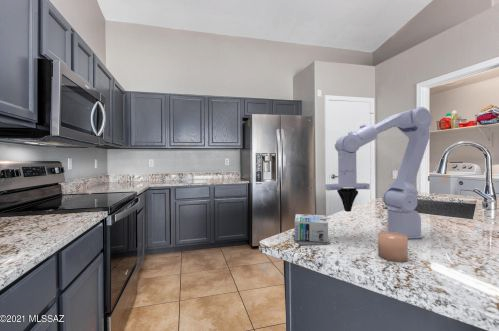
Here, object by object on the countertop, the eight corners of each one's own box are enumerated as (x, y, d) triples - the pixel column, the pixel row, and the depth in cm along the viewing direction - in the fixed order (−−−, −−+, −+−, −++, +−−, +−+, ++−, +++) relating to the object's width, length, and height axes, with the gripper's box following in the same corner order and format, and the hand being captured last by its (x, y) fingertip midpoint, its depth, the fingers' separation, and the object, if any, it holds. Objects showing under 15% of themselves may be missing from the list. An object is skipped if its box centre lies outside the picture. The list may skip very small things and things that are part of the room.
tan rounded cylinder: (396, 251, 70) (396, 231, 70) (414, 261, 63) (414, 238, 63) (373, 252, 70) (372, 231, 70) (388, 262, 63) (388, 239, 63)
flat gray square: (319, 234, 87) (319, 233, 87) (330, 244, 77) (330, 243, 77) (292, 235, 86) (292, 234, 86) (299, 245, 76) (299, 244, 76)
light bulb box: (328, 222, 77) (294, 220, 79) (328, 243, 77) (294, 240, 80) (325, 214, 88) (295, 213, 90) (325, 233, 88) (294, 231, 90)
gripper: (361, 170, 86) (362, 208, 86) (322, 170, 85) (322, 209, 86) (373, 171, 79) (373, 212, 79) (329, 171, 78) (330, 213, 79)
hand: (347, 211), depth 82 cm, fingers closed
